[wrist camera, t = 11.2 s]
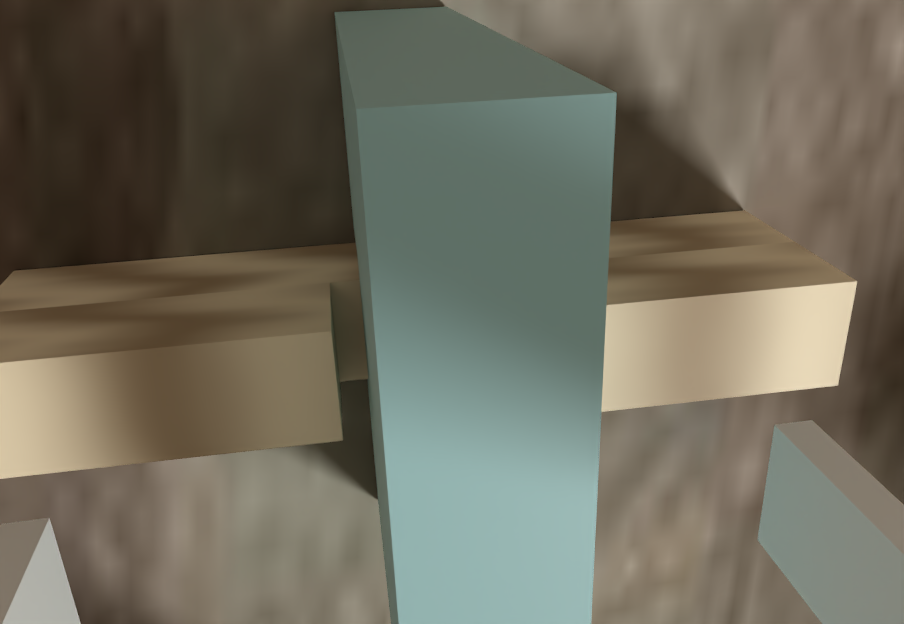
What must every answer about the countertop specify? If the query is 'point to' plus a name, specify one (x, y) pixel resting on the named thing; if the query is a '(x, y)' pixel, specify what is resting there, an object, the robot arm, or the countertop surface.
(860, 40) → the countertop surface
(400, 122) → the pale teal block
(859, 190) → the countertop surface
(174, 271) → the notched wooden beam
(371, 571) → the countertop surface
